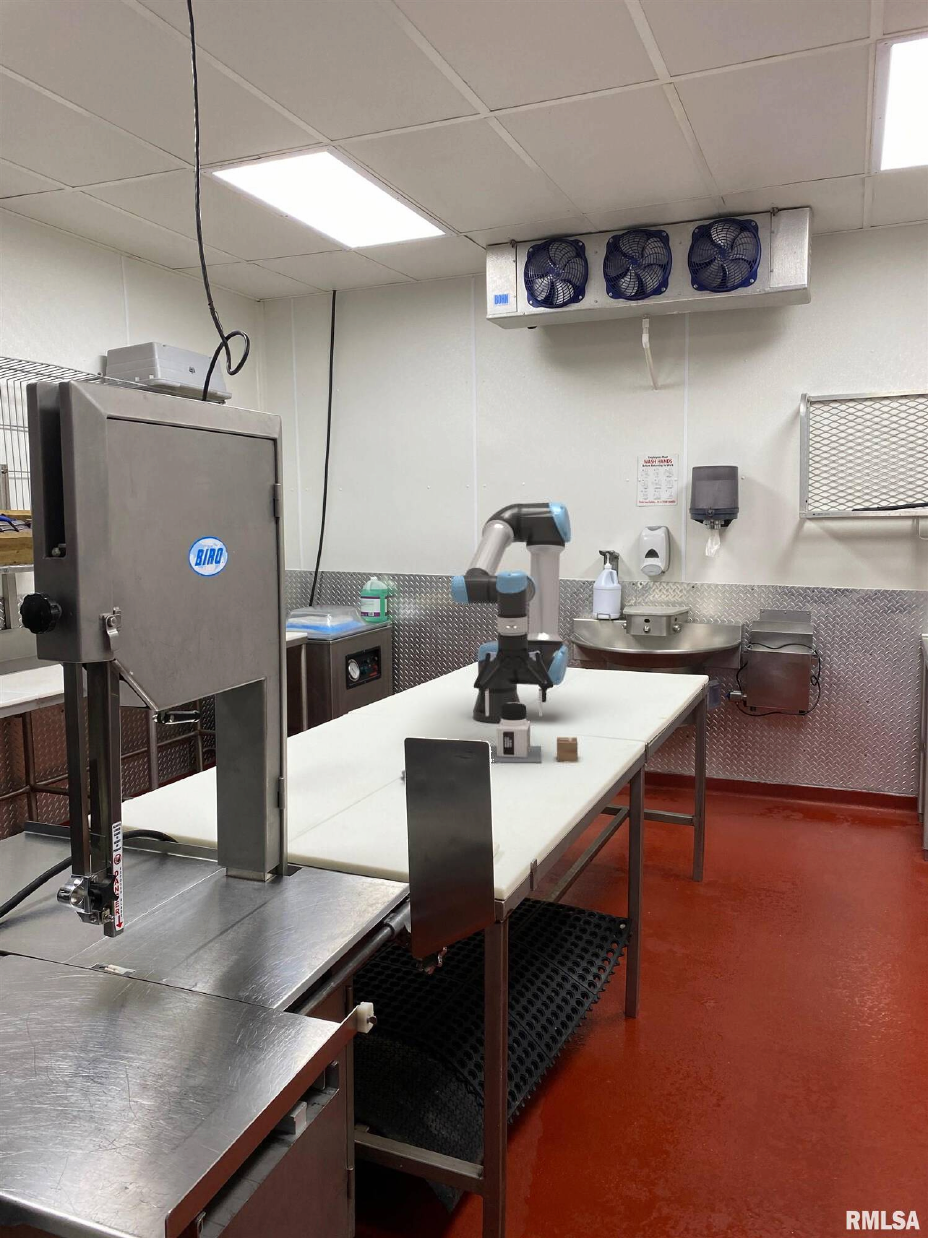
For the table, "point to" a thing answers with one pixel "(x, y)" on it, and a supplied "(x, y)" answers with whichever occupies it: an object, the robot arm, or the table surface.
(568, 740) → the letter cube
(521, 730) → the container
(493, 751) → the rubber mat
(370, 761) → the table surface
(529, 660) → the robot arm
